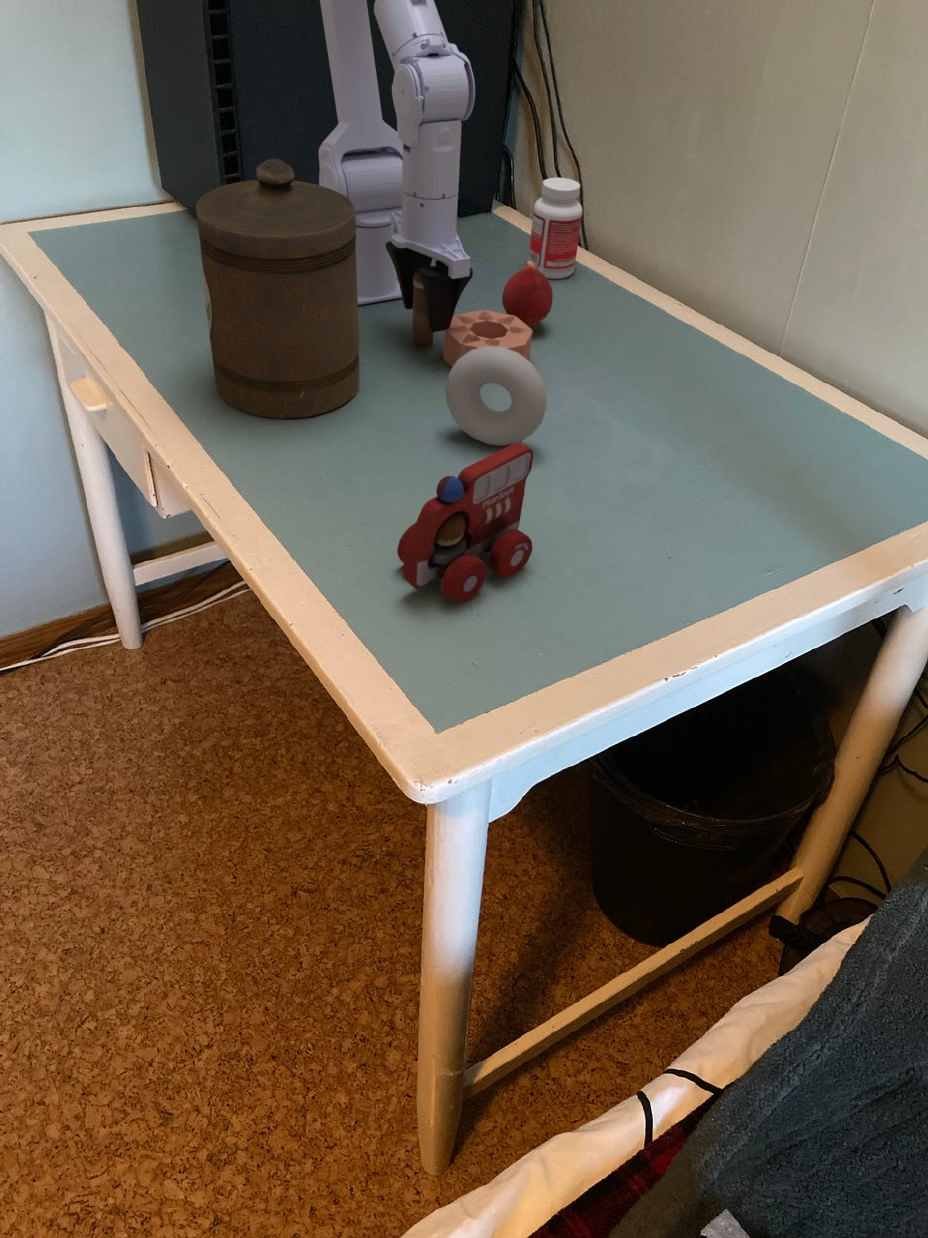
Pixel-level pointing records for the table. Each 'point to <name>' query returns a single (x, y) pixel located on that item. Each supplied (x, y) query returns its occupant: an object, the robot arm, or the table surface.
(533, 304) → the onion
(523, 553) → the toy fire truck
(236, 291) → the wooden container
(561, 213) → the pill bottle
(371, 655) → the table surface
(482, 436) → the donut
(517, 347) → the orange octagonal ring
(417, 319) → the case
